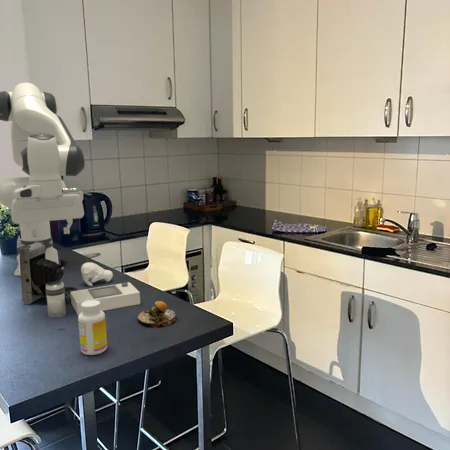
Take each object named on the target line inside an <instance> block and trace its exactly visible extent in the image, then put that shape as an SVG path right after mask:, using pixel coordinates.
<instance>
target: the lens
mask: <svg viewBox="0 0 450 450" xmlns="http://www.w3.org/2000/svg"><path fill="white" fill-rule="evenodd" d="M65 287H66V286H65V283H64V282H63V281H61V280H60V281H54V282H49V283H47V284H46V288H45V289H46V295H47V297H46V302H47V303H46V305H47V315H48V318H51V319H53V318H54V319H55V318H57V319H58V318H62V317H64V316H65V315H67V307H66V297H65V294H64V293H65Z"/></svg>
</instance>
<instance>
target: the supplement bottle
mask: <svg viewBox="0 0 450 450" xmlns="http://www.w3.org/2000/svg"><path fill="white" fill-rule="evenodd" d="M81 309H82V313H80V314H79V315H77V316H78V317H77V322H78V332H79V334H78V335H79V344H80V345H79V346H80V347H79V348H80V351H81V353H82V354H84V355H86V356H87V355H88V356H94V355H95V356H96V355H100V354H102V353H103V352H105V351H106V350H107V349H108V340H107V325H106V324H107V323H106V314H105V312H104V311H102V310H100V302H99V301H97V300H90V301H85V302H83V303H82V304H81Z"/></svg>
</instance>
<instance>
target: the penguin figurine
mask: <svg viewBox="0 0 450 450" xmlns="http://www.w3.org/2000/svg"><path fill="white" fill-rule="evenodd" d="M80 272H81V277H82V279H83V281H84V282H85V284H87V286H89V287H93V283H96V282H98V281H100V280H105V282H106V283H108V282H110V281H111V280H112V278H113V276H114V274H113V271H111V270H109V269H104V268H103V267H101V266H99V265H98V264H97V263H94V262H89V261H87V262H84V263H83V264H82V265H81V267H80Z"/></svg>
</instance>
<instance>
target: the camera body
mask: <svg viewBox="0 0 450 450" xmlns="http://www.w3.org/2000/svg"><path fill="white" fill-rule="evenodd" d="M69 295H70V302H71V305H72V307H73V309H74V311H75V313H76V315H77V316H79V314H80V313H82V309H81V304H82V303H83V302H85V301H90V300H97V301H99V302H100V310H102V311H103V312H104V311H109V310H114V309H119V308H127V307H131V306H137V305H141V292H140V291H139V290H138V289H137V288H136V287H135V286H134V285H133V284H132V283H131V282H122V283H116V284H110V285H104V286H98V287H91V288H84V289H77V290H75V291H72V292H70V294H69Z"/></svg>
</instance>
